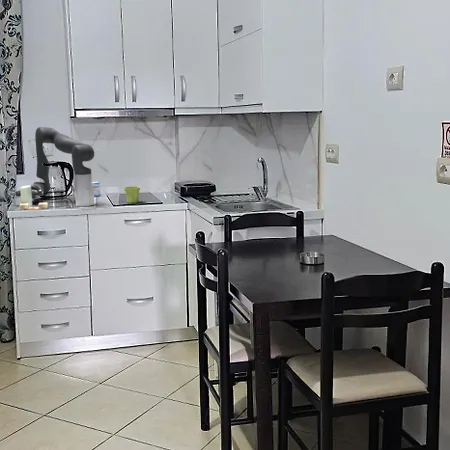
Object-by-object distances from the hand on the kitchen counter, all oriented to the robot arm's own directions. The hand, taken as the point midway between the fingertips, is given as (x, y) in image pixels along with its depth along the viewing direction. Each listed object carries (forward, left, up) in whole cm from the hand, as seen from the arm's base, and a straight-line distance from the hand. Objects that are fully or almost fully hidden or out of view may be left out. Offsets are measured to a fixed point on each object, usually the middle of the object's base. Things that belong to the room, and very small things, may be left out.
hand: (25, 194), depth 365 cm
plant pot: (-50, -30, -7) cm, 58 cm away
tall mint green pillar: (0, -1, -7) cm, 7 cm away
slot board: (-8, +4, -7) cm, 11 cm away
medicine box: (-14, -48, -7) cm, 50 cm away
